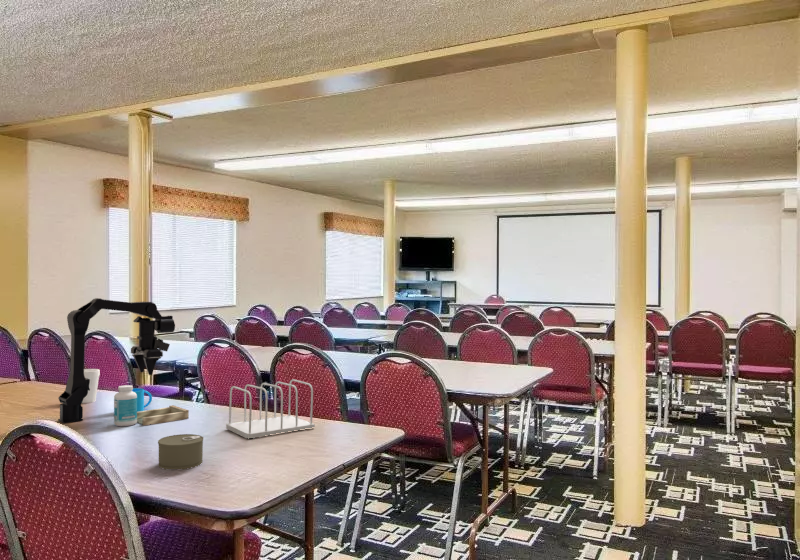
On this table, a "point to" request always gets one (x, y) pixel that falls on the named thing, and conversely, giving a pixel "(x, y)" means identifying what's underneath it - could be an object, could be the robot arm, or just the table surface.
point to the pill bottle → (125, 406)
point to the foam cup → (91, 384)
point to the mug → (141, 398)
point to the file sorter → (268, 424)
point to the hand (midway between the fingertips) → (146, 373)
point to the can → (180, 451)
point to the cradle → (162, 415)
